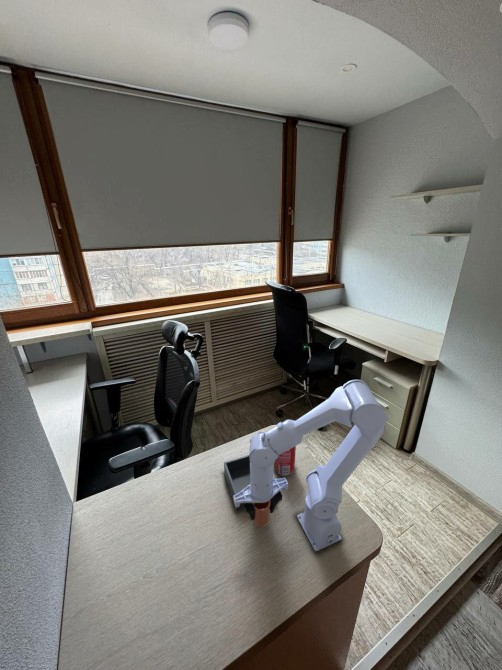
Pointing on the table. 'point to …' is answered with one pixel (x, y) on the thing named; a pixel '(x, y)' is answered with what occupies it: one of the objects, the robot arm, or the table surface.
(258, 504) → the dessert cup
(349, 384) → the robot arm
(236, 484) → the tub
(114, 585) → the table surface
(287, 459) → the soda can
